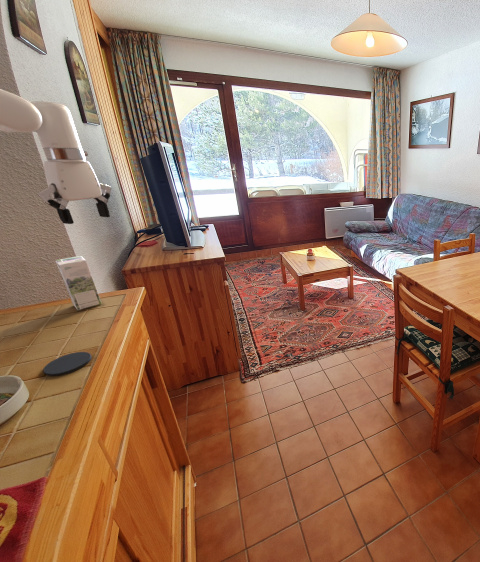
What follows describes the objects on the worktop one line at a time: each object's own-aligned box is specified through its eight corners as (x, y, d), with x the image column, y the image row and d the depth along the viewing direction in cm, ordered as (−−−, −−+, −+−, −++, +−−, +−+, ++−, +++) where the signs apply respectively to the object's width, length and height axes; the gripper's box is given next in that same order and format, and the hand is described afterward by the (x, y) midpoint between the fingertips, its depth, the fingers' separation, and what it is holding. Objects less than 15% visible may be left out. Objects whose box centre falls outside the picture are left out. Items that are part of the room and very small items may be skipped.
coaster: (36, 380, 63) (35, 377, 62) (53, 358, 69) (52, 356, 69) (84, 370, 66) (83, 368, 65) (96, 350, 72) (95, 348, 72)
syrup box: (97, 299, 96) (81, 254, 91) (102, 304, 93) (86, 259, 87) (73, 305, 92) (54, 259, 86) (77, 311, 89) (58, 264, 83)
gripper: (89, 155, 90) (108, 213, 97) (13, 155, 75) (41, 225, 81) (109, 155, 89) (127, 215, 95) (35, 156, 73) (62, 227, 80)
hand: (87, 220), depth 88 cm, fingers open, 9 cm apart
